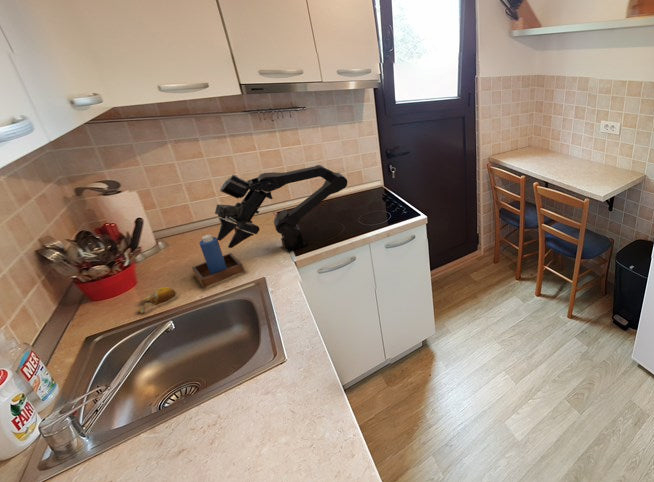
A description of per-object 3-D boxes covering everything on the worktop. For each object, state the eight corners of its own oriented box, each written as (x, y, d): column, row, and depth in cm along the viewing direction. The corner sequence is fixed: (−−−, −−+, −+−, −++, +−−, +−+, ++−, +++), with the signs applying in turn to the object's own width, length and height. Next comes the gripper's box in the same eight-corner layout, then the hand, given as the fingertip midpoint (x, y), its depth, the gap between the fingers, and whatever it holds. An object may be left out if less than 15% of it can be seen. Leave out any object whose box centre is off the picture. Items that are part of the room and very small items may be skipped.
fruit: (142, 300, 104) (138, 290, 102) (177, 289, 109) (173, 280, 107) (139, 314, 98) (134, 305, 96) (176, 302, 103) (172, 293, 101)
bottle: (225, 267, 119) (213, 231, 114) (229, 272, 116) (217, 235, 111) (209, 273, 115) (196, 237, 110) (213, 278, 113) (200, 241, 107)
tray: (233, 261, 124) (230, 252, 122) (244, 272, 117) (241, 263, 116) (195, 276, 115) (191, 267, 114) (204, 289, 108) (201, 280, 107)
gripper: (217, 189, 118) (188, 228, 113) (240, 200, 108) (210, 244, 104) (247, 202, 127) (221, 239, 122) (271, 213, 117) (244, 254, 113)
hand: (223, 243), depth 115 cm, fingers open, 9 cm apart
